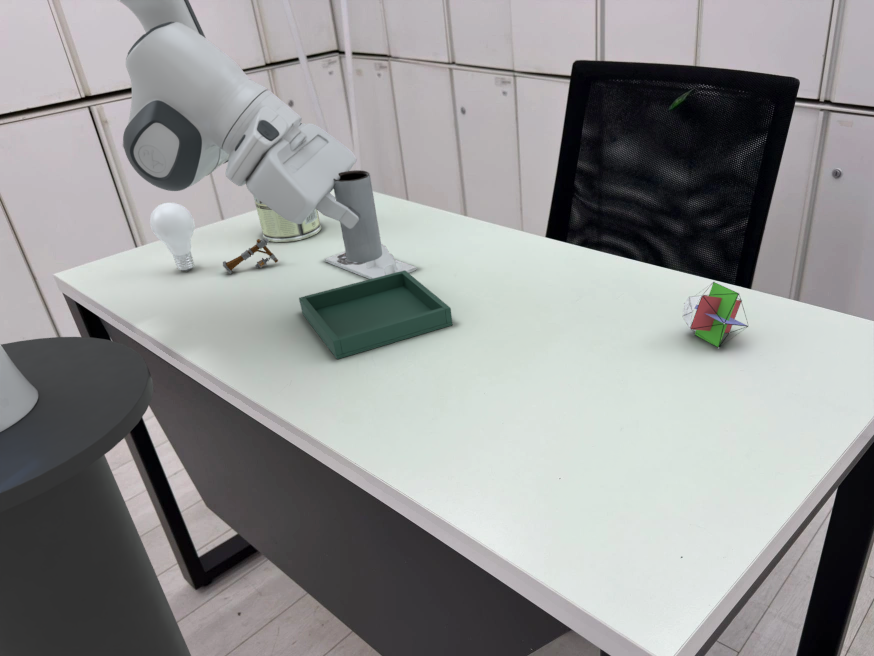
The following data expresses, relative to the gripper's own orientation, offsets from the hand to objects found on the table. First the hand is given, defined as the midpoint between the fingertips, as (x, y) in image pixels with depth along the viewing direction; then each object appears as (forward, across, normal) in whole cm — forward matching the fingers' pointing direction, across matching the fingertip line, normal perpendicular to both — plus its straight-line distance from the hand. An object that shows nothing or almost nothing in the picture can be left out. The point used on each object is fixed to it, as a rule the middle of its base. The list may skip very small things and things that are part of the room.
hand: (362, 215), depth 92 cm
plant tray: (+10, 0, -11) cm, 15 cm away
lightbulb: (-15, -20, -36) cm, 44 cm away
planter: (+4, 0, -4) cm, 6 cm away
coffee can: (-7, -36, -28) cm, 46 cm away
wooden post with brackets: (-8, -20, -28) cm, 36 cm away
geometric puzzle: (+40, +7, +20) cm, 46 cm away
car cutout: (+6, -19, -15) cm, 25 cm away
